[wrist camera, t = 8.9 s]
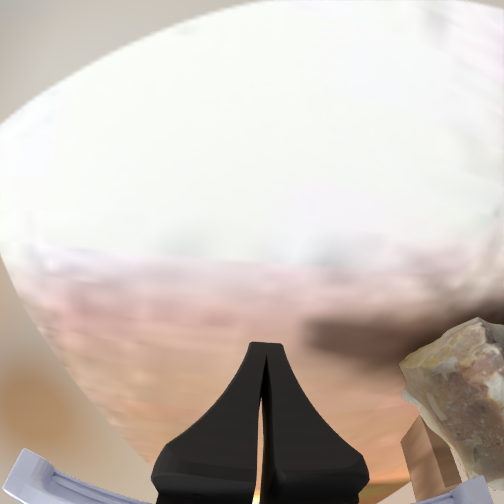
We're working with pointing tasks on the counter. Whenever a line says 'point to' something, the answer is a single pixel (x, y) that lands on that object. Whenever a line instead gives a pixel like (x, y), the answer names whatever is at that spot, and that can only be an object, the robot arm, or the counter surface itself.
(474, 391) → the stone
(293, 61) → the counter surface
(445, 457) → the door frame
